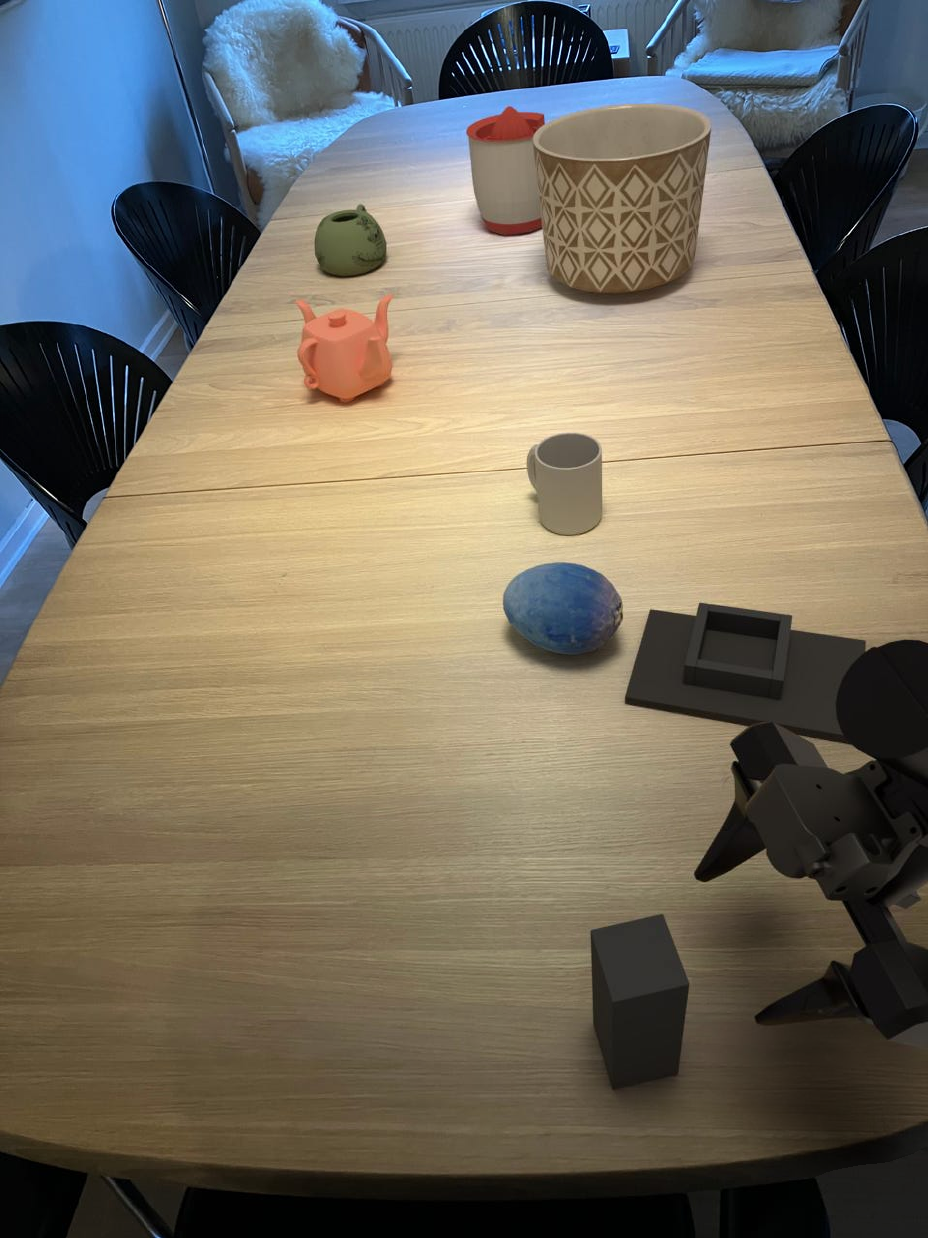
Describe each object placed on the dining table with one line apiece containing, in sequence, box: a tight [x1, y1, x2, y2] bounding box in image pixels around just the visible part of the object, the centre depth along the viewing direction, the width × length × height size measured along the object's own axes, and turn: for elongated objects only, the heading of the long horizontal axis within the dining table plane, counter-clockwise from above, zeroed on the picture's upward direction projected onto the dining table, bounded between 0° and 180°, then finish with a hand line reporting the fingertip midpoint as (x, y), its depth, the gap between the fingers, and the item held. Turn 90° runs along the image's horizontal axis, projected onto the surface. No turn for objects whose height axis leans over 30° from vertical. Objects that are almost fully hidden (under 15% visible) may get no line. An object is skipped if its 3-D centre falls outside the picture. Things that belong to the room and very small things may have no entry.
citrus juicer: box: [465, 105, 546, 236], centre depth 165 cm, size 16×17×20 cm
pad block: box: [590, 913, 690, 1090], centre depth 58 cm, size 4×4×13 cm
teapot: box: [295, 293, 394, 403], centre depth 130 cm, size 14×14×11 cm
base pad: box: [624, 602, 867, 745], centre depth 84 cm, size 20×12×4 cm, turn 71°
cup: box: [525, 432, 603, 536], centre depth 103 cm, size 7×10×9 cm
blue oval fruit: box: [502, 561, 624, 655], centre depth 88 cm, size 9×9×15 cm
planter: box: [533, 103, 712, 296], centre depth 144 cm, size 26×26×22 cm
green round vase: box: [314, 203, 388, 277], centre depth 164 cm, size 16×13×9 cm
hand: (727, 946), depth 55 cm, fingers open, 9 cm apart
